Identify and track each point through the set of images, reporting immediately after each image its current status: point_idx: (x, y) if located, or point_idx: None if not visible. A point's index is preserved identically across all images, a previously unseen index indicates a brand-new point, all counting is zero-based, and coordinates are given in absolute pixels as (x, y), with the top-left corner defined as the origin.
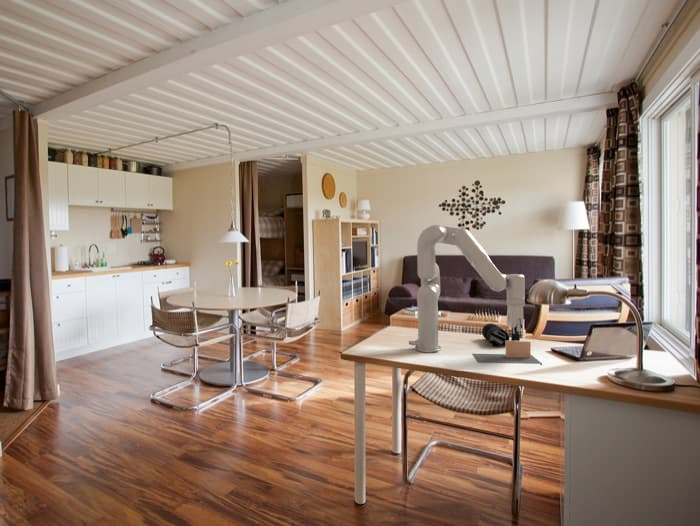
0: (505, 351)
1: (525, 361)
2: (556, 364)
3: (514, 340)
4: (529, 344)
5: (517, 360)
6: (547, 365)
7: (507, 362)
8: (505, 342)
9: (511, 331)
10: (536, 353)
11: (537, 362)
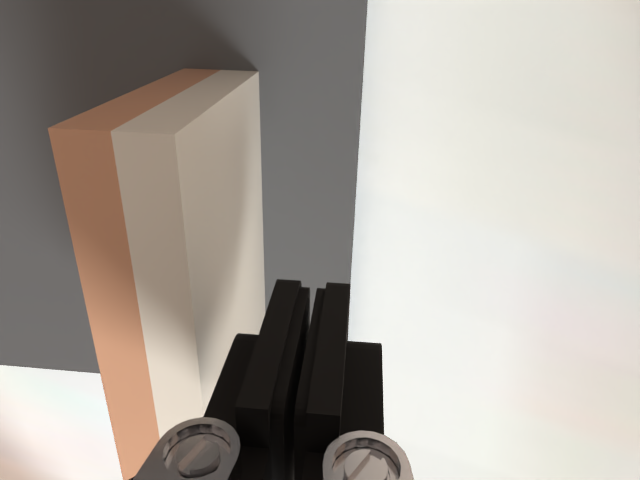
0: (239, 83)
1: (33, 242)
2: (62, 461)
3: (194, 325)
4: None
5: (50, 165)
6: (6, 390)
7: None
8: (187, 120)
9: (404, 470)
10: (434, 457)
11: (30, 342)
